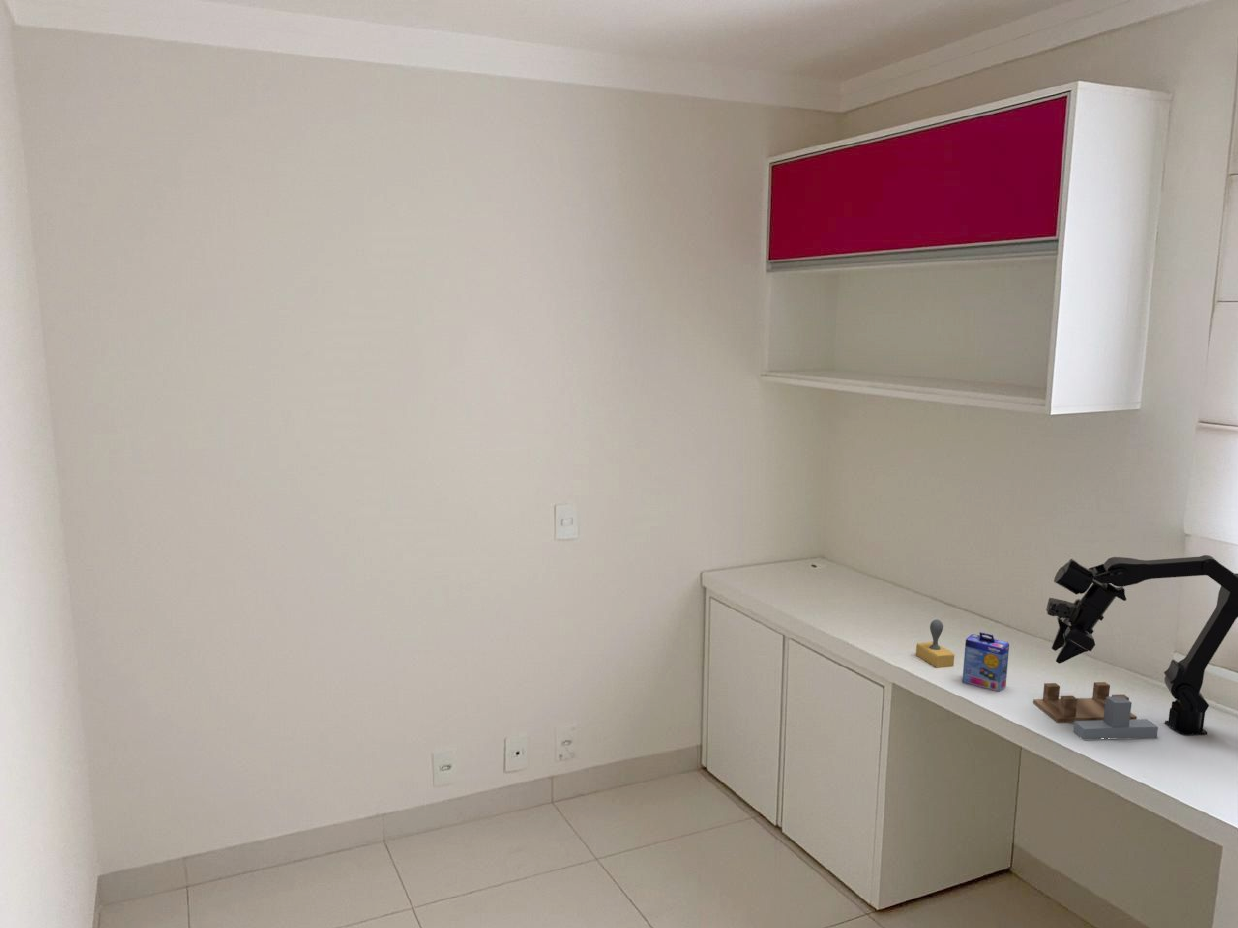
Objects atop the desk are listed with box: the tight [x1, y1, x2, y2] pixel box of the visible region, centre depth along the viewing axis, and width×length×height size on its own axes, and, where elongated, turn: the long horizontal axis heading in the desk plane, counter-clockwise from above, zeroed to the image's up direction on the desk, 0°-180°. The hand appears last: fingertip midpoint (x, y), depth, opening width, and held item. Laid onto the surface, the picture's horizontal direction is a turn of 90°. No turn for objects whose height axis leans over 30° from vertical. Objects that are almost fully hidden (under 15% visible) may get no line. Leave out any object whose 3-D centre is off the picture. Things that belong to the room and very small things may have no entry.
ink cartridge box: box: [961, 631, 1010, 693], centre depth 242 cm, size 10×6×14 cm, turn 51°
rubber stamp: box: [915, 619, 955, 669], centre depth 258 cm, size 10×6×12 cm, turn 17°
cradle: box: [1032, 681, 1137, 723], centre depth 227 cm, size 20×11×6 cm, turn 95°
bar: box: [1072, 695, 1159, 740], centre depth 214 cm, size 18×4×9 cm, turn 95°
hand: (1055, 655), depth 225 cm, fingers open, 9 cm apart
